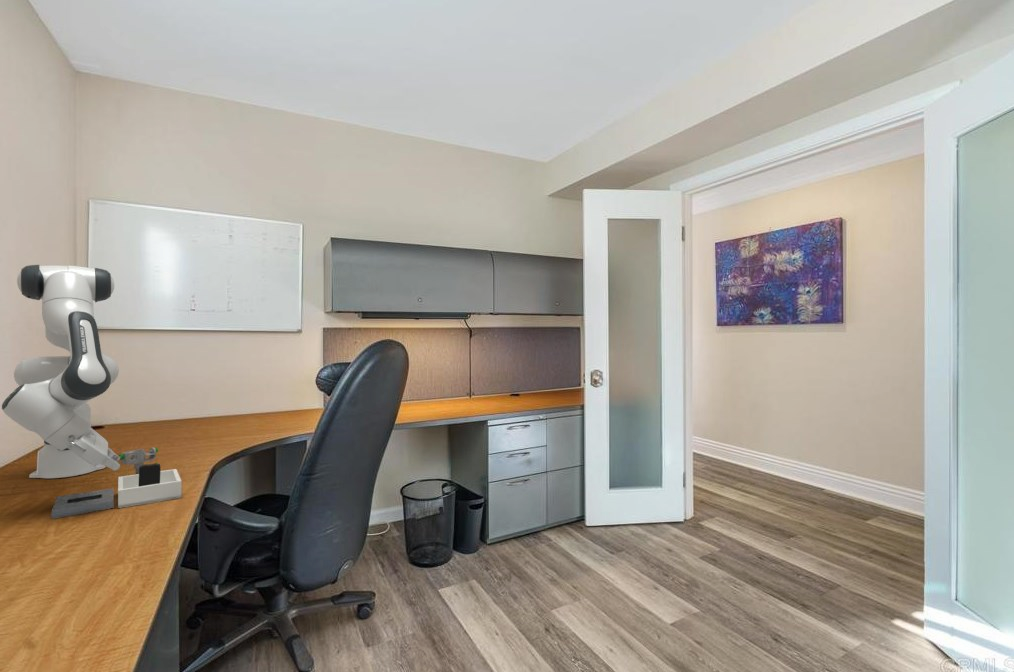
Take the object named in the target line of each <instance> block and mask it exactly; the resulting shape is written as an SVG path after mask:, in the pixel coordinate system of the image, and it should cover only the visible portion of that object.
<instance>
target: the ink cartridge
mask: <svg viewBox="0 0 1014 672" xmlns="http://www.w3.org/2000/svg"><path fill="white" fill-rule="evenodd" d="M160 471H162V469H161V464H160V463H157V462H156V463H148V464H145V463H144V465H142V466H139V487H140V486H146V485H153V484H159V483H160Z"/></svg>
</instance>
